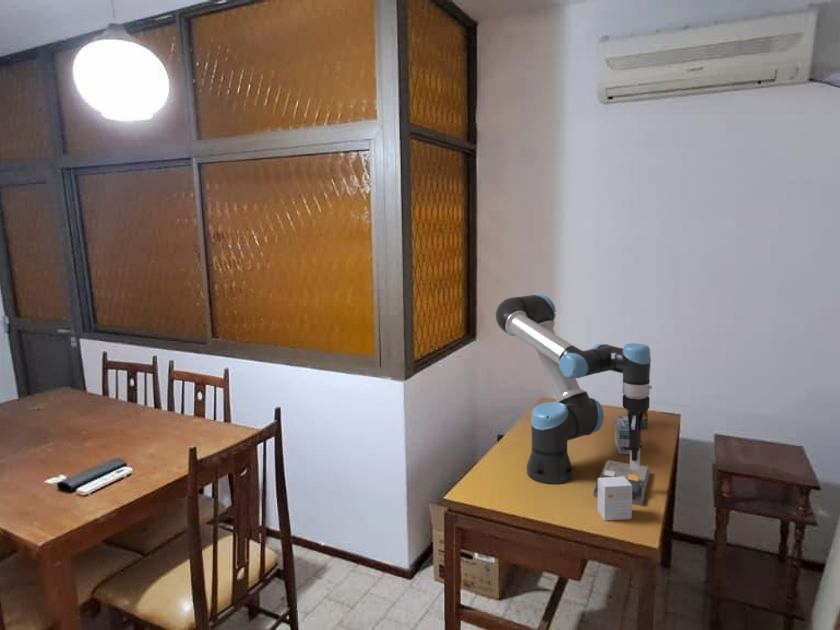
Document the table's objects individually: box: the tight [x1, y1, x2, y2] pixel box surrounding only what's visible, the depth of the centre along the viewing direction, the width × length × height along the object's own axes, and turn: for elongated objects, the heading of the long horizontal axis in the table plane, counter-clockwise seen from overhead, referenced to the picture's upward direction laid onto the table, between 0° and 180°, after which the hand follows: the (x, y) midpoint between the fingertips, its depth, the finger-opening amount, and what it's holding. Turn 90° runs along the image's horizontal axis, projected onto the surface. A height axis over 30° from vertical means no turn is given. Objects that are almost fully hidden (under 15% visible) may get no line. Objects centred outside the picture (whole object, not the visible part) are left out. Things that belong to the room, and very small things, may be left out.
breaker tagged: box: [628, 474, 639, 496], centre depth 162 cm, size 7×3×2 cm, turn 152°
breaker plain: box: [603, 470, 615, 478], centre depth 166 cm, size 7×3×2 cm, turn 152°
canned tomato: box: [626, 409, 649, 432], centre depth 214 cm, size 8×8×11 cm
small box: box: [597, 476, 633, 522], centre depth 152 cm, size 8×6×10 cm
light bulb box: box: [614, 415, 630, 455], centre depth 195 cm, size 11×7×11 cm, turn 168°
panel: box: [592, 459, 651, 507], centre depth 169 cm, size 22×14×4 cm, turn 152°
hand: (634, 468), depth 164 cm, fingers closed
